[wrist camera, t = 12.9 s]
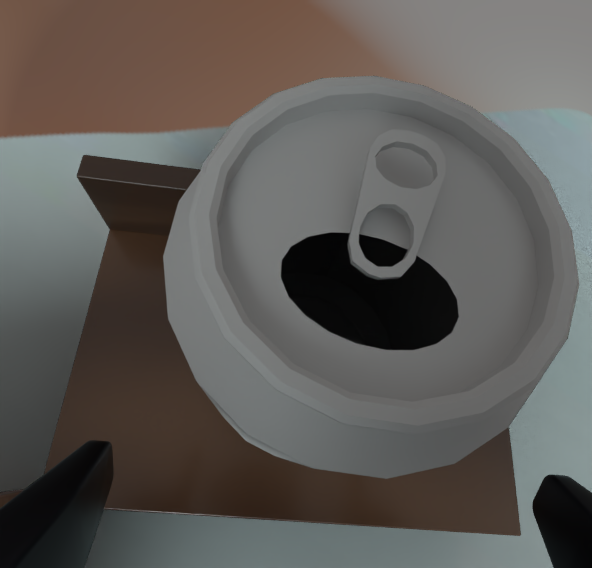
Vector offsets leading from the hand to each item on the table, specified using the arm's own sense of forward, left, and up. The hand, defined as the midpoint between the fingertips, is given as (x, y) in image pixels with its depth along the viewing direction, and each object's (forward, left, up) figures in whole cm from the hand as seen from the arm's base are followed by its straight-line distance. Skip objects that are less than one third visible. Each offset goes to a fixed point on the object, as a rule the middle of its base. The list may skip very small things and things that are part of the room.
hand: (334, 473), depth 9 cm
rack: (+4, +2, -12) cm, 13 cm away
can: (+3, +2, -8) cm, 9 cm away
